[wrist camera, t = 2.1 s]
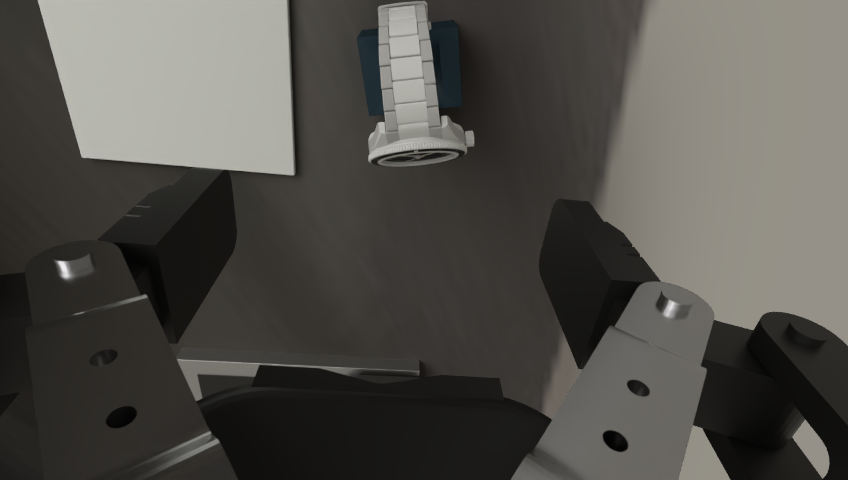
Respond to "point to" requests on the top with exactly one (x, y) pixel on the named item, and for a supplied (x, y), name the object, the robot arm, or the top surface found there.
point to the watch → (412, 87)
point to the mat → (178, 80)
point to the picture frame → (238, 368)
